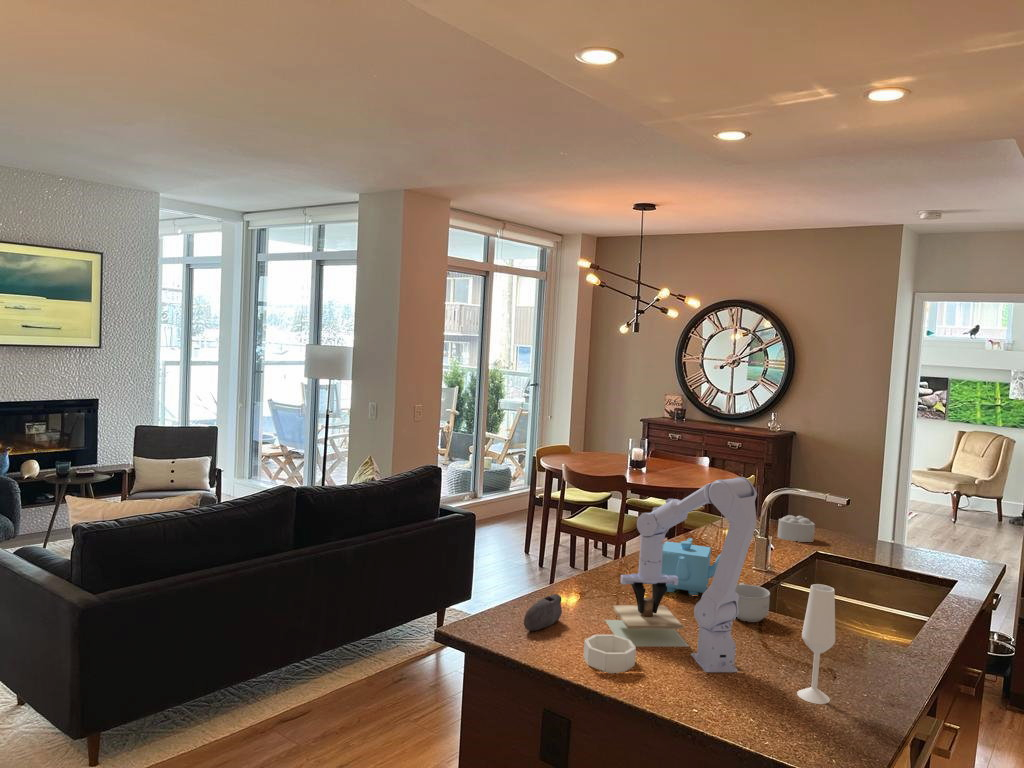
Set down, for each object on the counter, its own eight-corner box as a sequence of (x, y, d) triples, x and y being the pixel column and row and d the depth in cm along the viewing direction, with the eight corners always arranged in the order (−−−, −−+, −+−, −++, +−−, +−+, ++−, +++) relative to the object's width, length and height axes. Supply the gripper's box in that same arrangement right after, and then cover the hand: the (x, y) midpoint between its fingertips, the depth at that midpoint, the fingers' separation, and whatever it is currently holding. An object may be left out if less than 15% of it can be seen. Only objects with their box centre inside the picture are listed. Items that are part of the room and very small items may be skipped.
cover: (682, 628, 192) (684, 609, 192) (627, 628, 190) (629, 609, 190) (664, 608, 206) (665, 590, 206) (612, 608, 204) (614, 590, 204)
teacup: (770, 628, 208) (772, 598, 207) (728, 622, 210) (730, 593, 209) (764, 610, 221) (766, 582, 221) (724, 605, 224) (726, 578, 223)
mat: (689, 647, 191) (689, 646, 191) (622, 647, 189) (622, 646, 189) (666, 621, 208) (666, 620, 208) (604, 621, 206) (604, 619, 206)
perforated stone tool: (531, 637, 192) (533, 610, 192) (515, 631, 196) (516, 604, 195) (566, 621, 204) (568, 596, 204) (550, 616, 207) (552, 590, 207)
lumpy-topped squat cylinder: (784, 533, 314) (786, 512, 313) (817, 540, 305) (819, 518, 305) (774, 537, 306) (776, 516, 305) (808, 545, 297) (810, 522, 297)
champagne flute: (799, 701, 166) (809, 591, 164) (794, 687, 172) (803, 581, 171) (833, 705, 164) (842, 594, 163) (826, 691, 171) (835, 584, 169)
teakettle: (640, 583, 240) (643, 536, 239) (688, 577, 248) (691, 531, 247) (679, 604, 223) (683, 553, 222) (730, 597, 231) (733, 548, 230)
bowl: (638, 673, 175) (640, 653, 175) (591, 673, 174) (592, 653, 173) (625, 653, 186) (626, 634, 186) (580, 653, 184) (581, 634, 184)
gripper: (673, 555, 202) (669, 606, 203) (618, 554, 200) (615, 606, 201) (682, 563, 195) (678, 616, 196) (626, 562, 193) (622, 616, 194)
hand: (647, 611), depth 198 cm, fingers closed on cover, 3 cm apart
